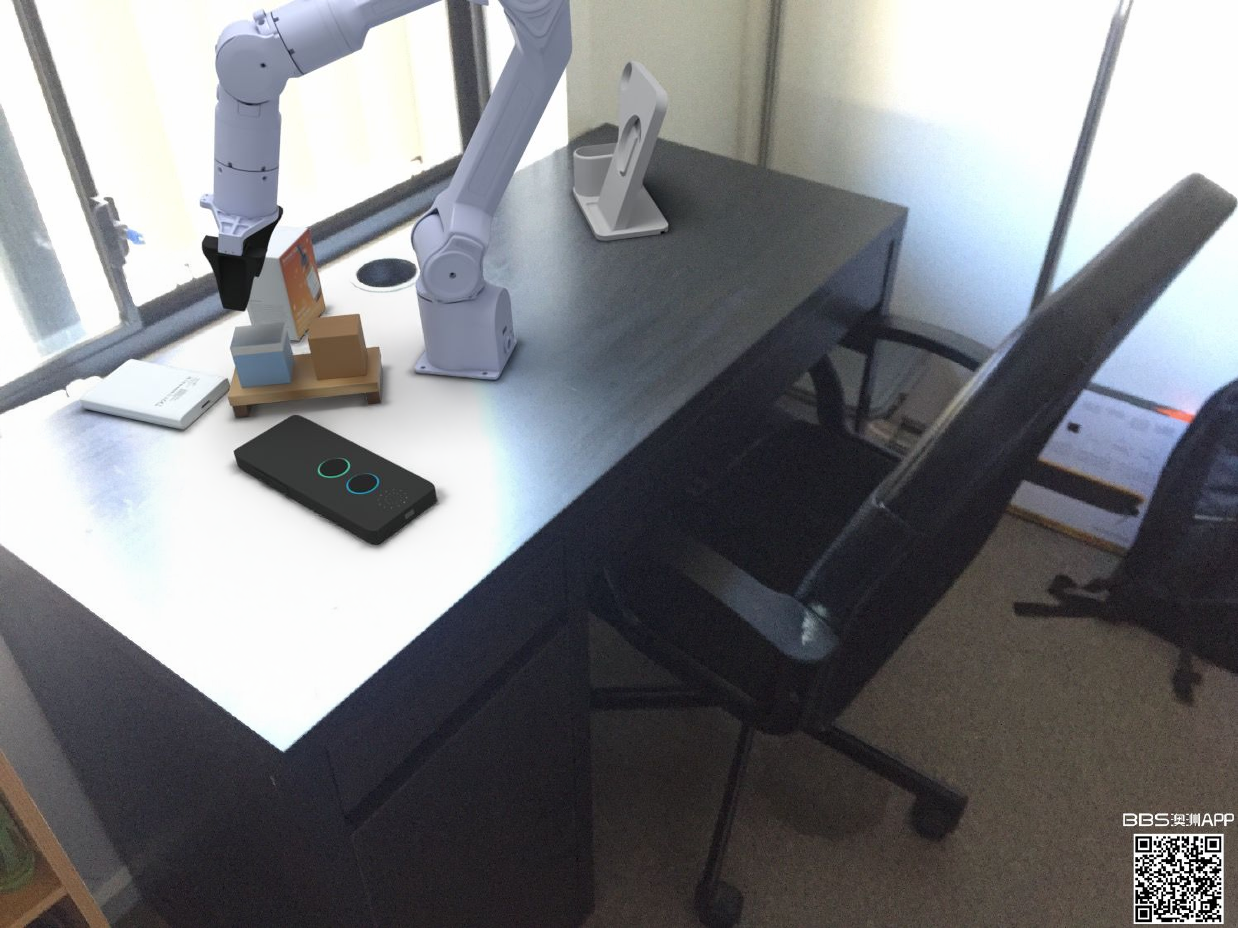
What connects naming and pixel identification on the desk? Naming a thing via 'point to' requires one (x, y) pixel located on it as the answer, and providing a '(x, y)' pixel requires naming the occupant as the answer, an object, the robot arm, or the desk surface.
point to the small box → (287, 283)
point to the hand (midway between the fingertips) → (242, 291)
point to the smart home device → (336, 478)
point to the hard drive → (155, 393)
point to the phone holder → (624, 163)
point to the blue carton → (262, 354)
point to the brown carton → (337, 346)
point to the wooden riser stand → (309, 385)
